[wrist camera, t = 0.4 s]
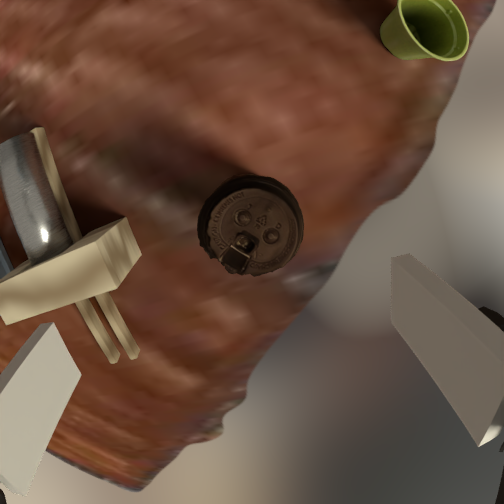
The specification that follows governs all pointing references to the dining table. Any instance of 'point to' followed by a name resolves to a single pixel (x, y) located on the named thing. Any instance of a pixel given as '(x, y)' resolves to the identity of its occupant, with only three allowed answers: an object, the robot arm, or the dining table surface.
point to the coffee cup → (251, 225)
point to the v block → (4, 262)
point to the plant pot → (425, 30)
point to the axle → (32, 200)
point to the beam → (75, 272)
